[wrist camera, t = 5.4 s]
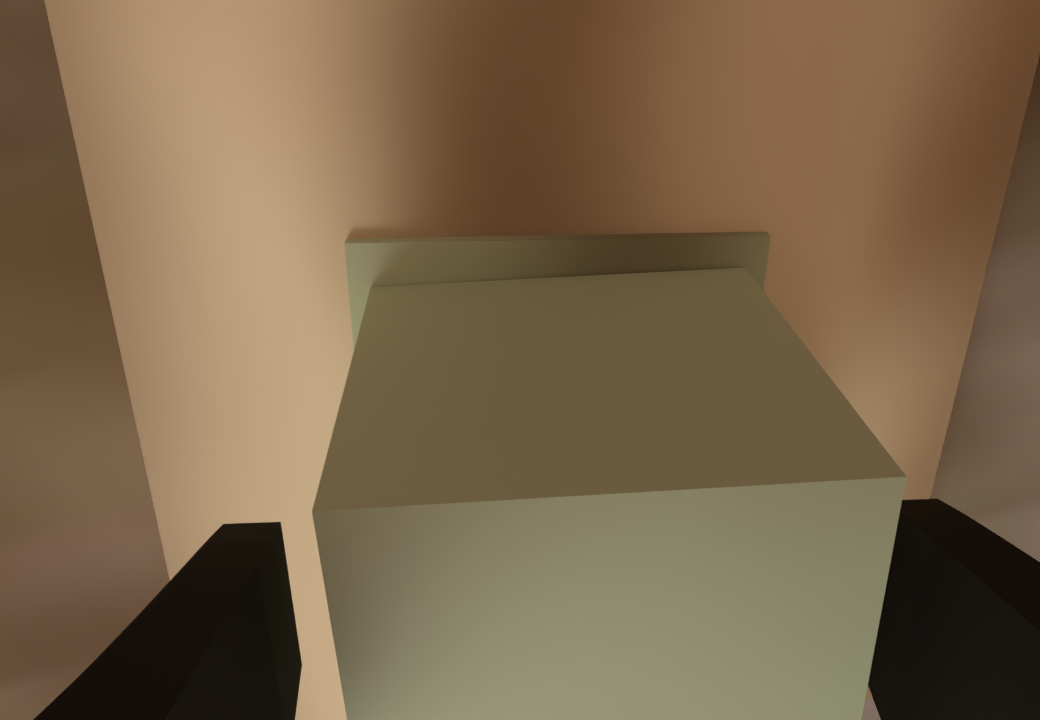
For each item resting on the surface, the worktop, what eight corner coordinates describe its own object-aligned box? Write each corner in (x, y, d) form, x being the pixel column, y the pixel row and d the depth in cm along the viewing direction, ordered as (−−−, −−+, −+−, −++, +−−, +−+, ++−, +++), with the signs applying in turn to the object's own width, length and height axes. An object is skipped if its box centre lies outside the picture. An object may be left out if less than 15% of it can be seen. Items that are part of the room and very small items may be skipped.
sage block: (745, 267, 12) (905, 477, 8) (721, 563, 14) (835, 860, 10) (371, 286, 12) (311, 512, 8) (405, 583, 14) (376, 892, 10)
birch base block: (942, -40, 14) (1069, -27, 11) (821, 585, 19) (885, 706, 16) (126, -40, 13) (30, -26, 10) (239, 608, 18) (199, 737, 15)
